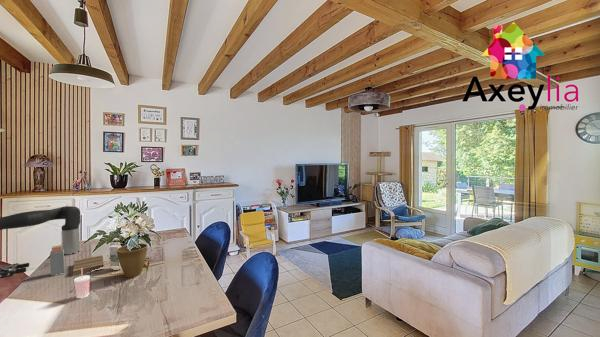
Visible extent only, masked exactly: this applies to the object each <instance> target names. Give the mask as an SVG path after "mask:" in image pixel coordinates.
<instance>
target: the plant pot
mask: <svg viewBox="0 0 600 337" xmlns="http://www.w3.org/2000/svg"><path fill="white" fill-rule="evenodd" d="M137 244H138V245H140V246H141V248H142V249H139V248H136V247H134V248H132V249H131V251H129V250H128V249H127V245H126V244H125V246H123V247H120V248H118V249H117V255H118V259H119V263H120V265H121V268H122V269H121V270H122V272H123V274H124V276H125V277H126V278H129V279H130V278H136V277H139V276H140V275H141V274H142V271H143V269H144V265H145V262H146V257H147V251H148V244H147V243H137Z"/></svg>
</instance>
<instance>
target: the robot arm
mask: <svg viewBox="0 0 600 337" xmlns="http://www.w3.org/2000/svg"><path fill="white" fill-rule="evenodd" d="M56 220H64V222H65V223H64V224H63V225H62V226H61V245H62V249H64V254H71V255H73V254H72V253H75V254H77V253H76V252H78V251H81V246H80V245H81V244H80V224H81V211H80V208H79V207H77V206H73V205H72V206H71V205H70V206H69V205H67V206H61V207H57V208H51V209H41V210H32V211H31V210H30V211H25V212H18V213H14V214H10V215H5V216H2V217H0V231H1V230H2V231H3V230H10V229H19V228H27V227H28V228H29V227H32V226H38V225H41V224H45V223H47V222H50V221H56ZM78 253H79V252H78ZM29 267H30V262H26V263H25V262H24V263H18V262H17V263H12V264H6V265H2V266H1V268H0V279H3V278H4V279H5V278H9V277H13V276H15V275H16V274H22V273H26V272H27V268H29Z"/></svg>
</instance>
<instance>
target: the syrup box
mask: <svg viewBox="0 0 600 337" xmlns="http://www.w3.org/2000/svg"><path fill="white" fill-rule="evenodd" d="M120 244H121V243H115V244H113V245H110V246H109V258H110V260H109V262H110V267H111V266H120V263H119V259H118V255H117V249H118V248H120V247H122V246H121V245H120Z"/></svg>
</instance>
